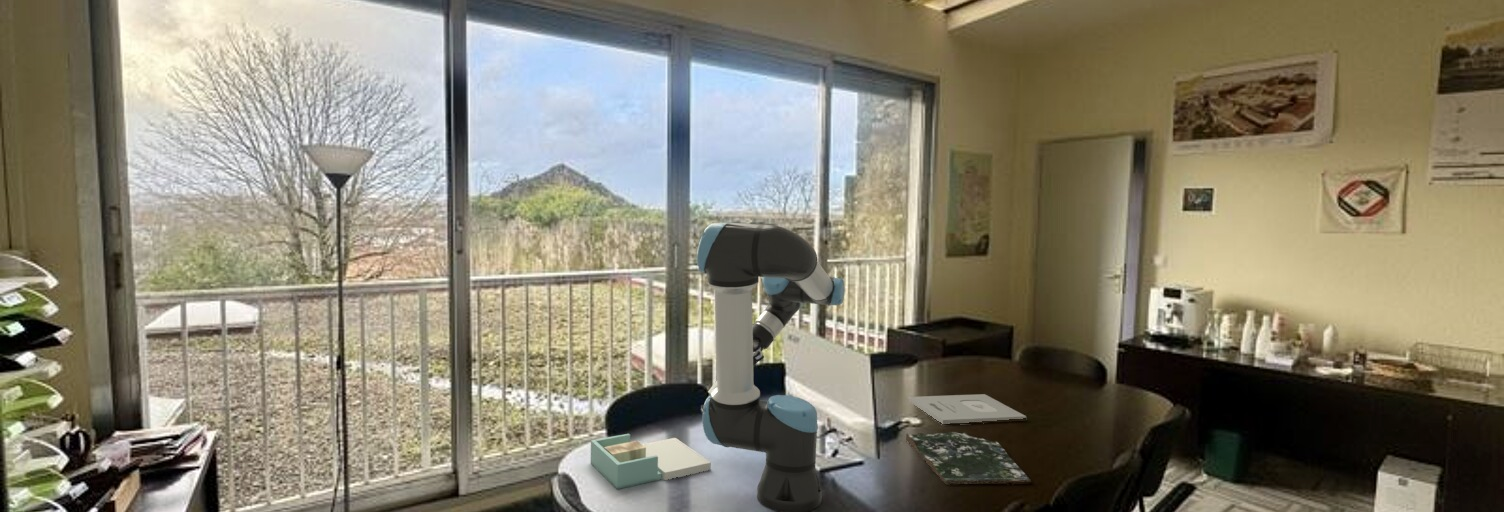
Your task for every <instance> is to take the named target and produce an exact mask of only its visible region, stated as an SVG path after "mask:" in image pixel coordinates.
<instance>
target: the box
mask: <svg viewBox="0 0 1504 512" xmlns="http://www.w3.org/2000/svg"><path fill="white" fill-rule="evenodd" d="M627 442H631V434H630V433H625V434H619V435H613V436H608V437H603V438H597V439H592V440H590V464H591V465H592V466H593V467H594V468H595V469H596V471H598V472H599V473H600V474H601V475H602V476H603V477H604V478H605V479H606V480H607V481H608V482H609V483H610V484H611V485H612V486H613V487H614V488H615V489H616V490H620V489H621V490H622V489H624V488H630V487H634V486H638V485H643V484H647V483H653V482H656V481H660V480H659V479H661V480H662V478H661V473H660V472H659V471H658V456H657V455H655V456H650V457H645V458H640V459H635V460H631V461H626V462H621V463H620V462H619V461H617V460H616V459H615V458H614V457H613V456H612V455H611V454H610V453H609V452H608V451H606V450H605V449H604V447H607V446H612V445H617V444H622V443H627Z"/></svg>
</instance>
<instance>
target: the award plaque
mask: <svg viewBox="0 0 1504 512" xmlns="http://www.w3.org/2000/svg"><path fill="white" fill-rule="evenodd" d="M908 400H909V401H910V402H911V403H912V404H911V403H910V402H909V403H910V404H911V405H913V404H914V405H915V406H917V407H918V408H920V409H921V410H923V411H924V412H926V413H927V414H928V415H930V416H932V417H933V418H934V419H936V420H937V421H939V422H941V423H942V424H950V423H969V422H982V421H997V420H1009V419H1023V418H1026V419H1027V416H1026V414H1025V415H1024V414H1023V413H1021V412H1019V411H1017V410H1015V409H1013V408H1011V407H1010V406H1008V405H1005V404H1004V403H1002V402H1001V401H998V400H996V399H995V398H993V397H991V396H989V395H987V394H985V393H983V394H982V393H981V394H977V393H976V394H954V395H951V394H950V395H949V394H948V395H929V396H928V395H926V396H925V395H924V396H908ZM914 405H913V406H914ZM915 406H914V407H915ZM917 407H916V408H917ZM918 408H917V409H918ZM920 409H919V410H920ZM921 410H920V411H921ZM923 411H922V412H923ZM924 412H923V413H924ZM926 413H925V414H926ZM927 414H926V415H927ZM928 415H927V416H928ZM930 416H929V417H930ZM933 418H932V419H933ZM934 419H933V420H934ZM936 420H935V421H936ZM937 421H936V422H937ZM939 422H938V423H939ZM942 424H941V425H942Z"/></svg>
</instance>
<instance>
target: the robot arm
mask: <svg viewBox="0 0 1504 512" xmlns="http://www.w3.org/2000/svg"><path fill="white" fill-rule="evenodd" d="M696 264H697V265H696V266H697V267H698V270H699V271H700V272H701V273H702V274H706V275H707V276H706V277H707V285H708V286H709V287H711V288H712V289H713V290H714V316H715V318H714V321H715V348H716V349H715V350H716V351H715V353H716V356H715V357H716V381H715V382H714V383H713V384H712V386H711V387H710V388H709V390H708V391H707V393H708V394H709V395H708V396H707V397H706V399H705V401H704V404H703V405H704V407H703V410H704V413H703V414H702V418H701V419H702V420H701V421H702V428H703V432H704V435H705V437H706V439H707V440H708V441H709V442H710V443H711V444H713V445H718V446H722V447H724V448H735V449H741V450H742V449H743V450H746V451H747V450H748V451H754V452H760V453H765V466H764V468H763V471H762V475H761V477H760V481H759V483H758V485H757V489H756V499H757V500H758V501H757V502H759V503H760V504H761V505H762V506H763V507H765V508H767V509H770V510H772V511H776V512H811V511H813V510H815V509H816V508H818V507H819V506H820V505H821V503H822V499H823V497H822V494H823V492H822V487H821V484H820V480H819V477H818V473H817V470H816V461H817V457H816V456H817V442H818V441H817V440H818V438H817V437H818V430H819V426H818V412H817V409H816V408H815V406H814V405H813V404H812V403H810V401H807V400H805V399H803V398H800V397H798V396H792V395H788V394H784V395H781V394H777V395H772V396H770V397H769V398H768V400H767V401H766V400H761V391H760V389H759V388H758V387H757V386H756V385H755V384H754V366H756V364H757V363H758V362H760V361H761V360H764V358H765V356H764V355H763V353H762V352H763V350H766V349H768V348H769V347H770V346H771V345H772V343H773V342H774V341H775V340H774V339H775V338H777V337H778V336H779V334H780V333H781V331H782V330H783V329H784V328H785V326H786V325H787V324H788V323H789V321H791V319H792V318H793V317H794V316H795V314H796V313H797V312H798V311H799V310H800V308H801V307H802V305H803V304H814V305H823V306H829V307H831V306H841V305H842V304H843V303H844V302H843V301H844V297H845V287H846V286H845V281H844V279H842V278H838V277H835V276H832V277H831V276H829V275H828V273H827V272H826V270H825V269H824V268H823V266H822V265H821V264H820V263H819V261H818V255H817V252H816V250H815V248H814V247H813V246H812V245H811V243H810V242H809V241H807V240H806V238H804V237H802V236H800V235H799V234H798V233H795V232H794V231H792V230H790V229H787V228H785V227H783V226H780V225H775V224H767V223H766V224H759V223H744V222H743V223H742V222H730V221H727V222H712V223H710V224H709V225H708V226H706V228H705V229H704V230H703V233H702V235H701V237H700V240H699V243H698V247H697V253H696ZM759 278H762V279H761V280H762V285H763V290H764V292H765V294H766V296H767V299H768V302H769V304H768V305H767V307H766V308H765V309H764V310H763V311H762V313H761V314H759V316H758V317H757V318H756V319H755V321H754V320H753V319H754V318H753V288H755V287H756V286H757V285H758V284H759V282H760V281H759ZM753 321H754V322H753Z"/></svg>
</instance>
